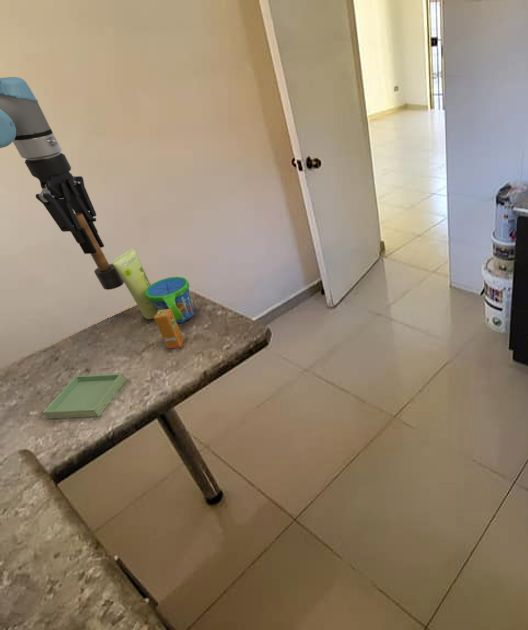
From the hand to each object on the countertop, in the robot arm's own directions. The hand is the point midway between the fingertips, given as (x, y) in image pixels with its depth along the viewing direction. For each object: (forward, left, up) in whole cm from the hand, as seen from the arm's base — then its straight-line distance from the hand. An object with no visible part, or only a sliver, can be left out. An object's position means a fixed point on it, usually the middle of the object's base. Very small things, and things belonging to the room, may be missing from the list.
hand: (94, 249), depth 111 cm
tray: (+7, -32, -21) cm, 39 cm away
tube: (+6, 0, -21) cm, 22 cm away
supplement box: (+19, -14, -21) cm, 32 cm away
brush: (0, 0, -11) cm, 11 cm away
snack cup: (+15, -2, -21) cm, 26 cm away
